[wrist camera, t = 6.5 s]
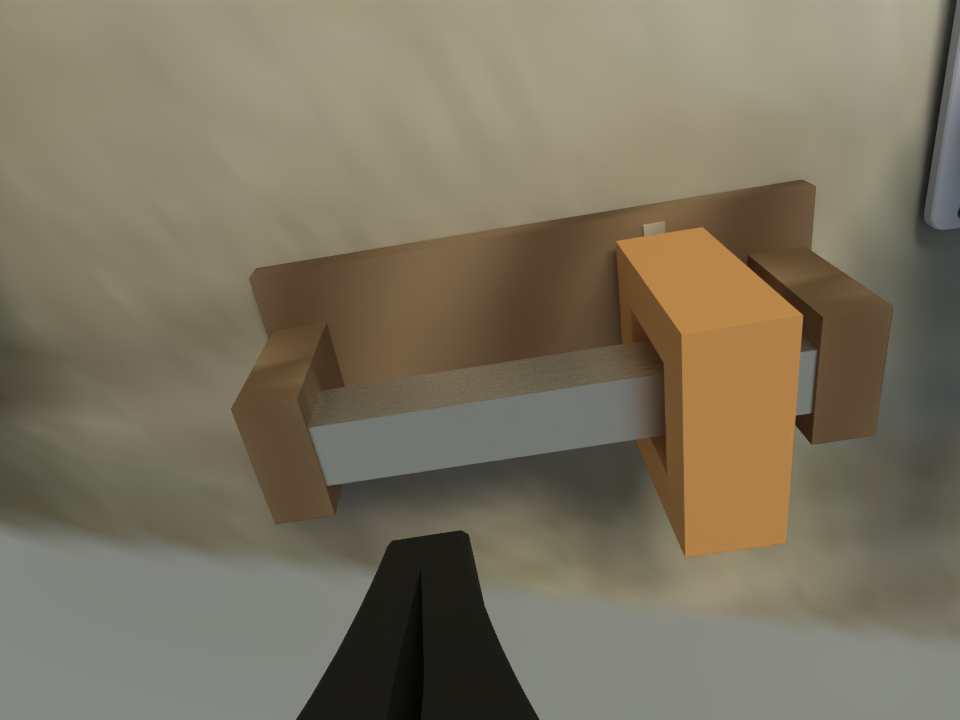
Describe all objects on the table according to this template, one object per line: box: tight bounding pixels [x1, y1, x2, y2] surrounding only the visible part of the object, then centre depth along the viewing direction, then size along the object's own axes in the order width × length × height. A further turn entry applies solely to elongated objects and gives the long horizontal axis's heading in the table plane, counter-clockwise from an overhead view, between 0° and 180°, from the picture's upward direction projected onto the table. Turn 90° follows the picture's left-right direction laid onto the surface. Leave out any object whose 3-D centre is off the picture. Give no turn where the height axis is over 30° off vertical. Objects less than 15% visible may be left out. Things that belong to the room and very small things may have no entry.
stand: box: [231, 180, 893, 524], centre depth 19 cm, size 16×7×5 cm, turn 99°
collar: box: [616, 227, 803, 558], centre depth 17 cm, size 2×6×6 cm, turn 9°
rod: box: [308, 335, 818, 486], centre depth 18 cm, size 16×2×2 cm, turn 99°
